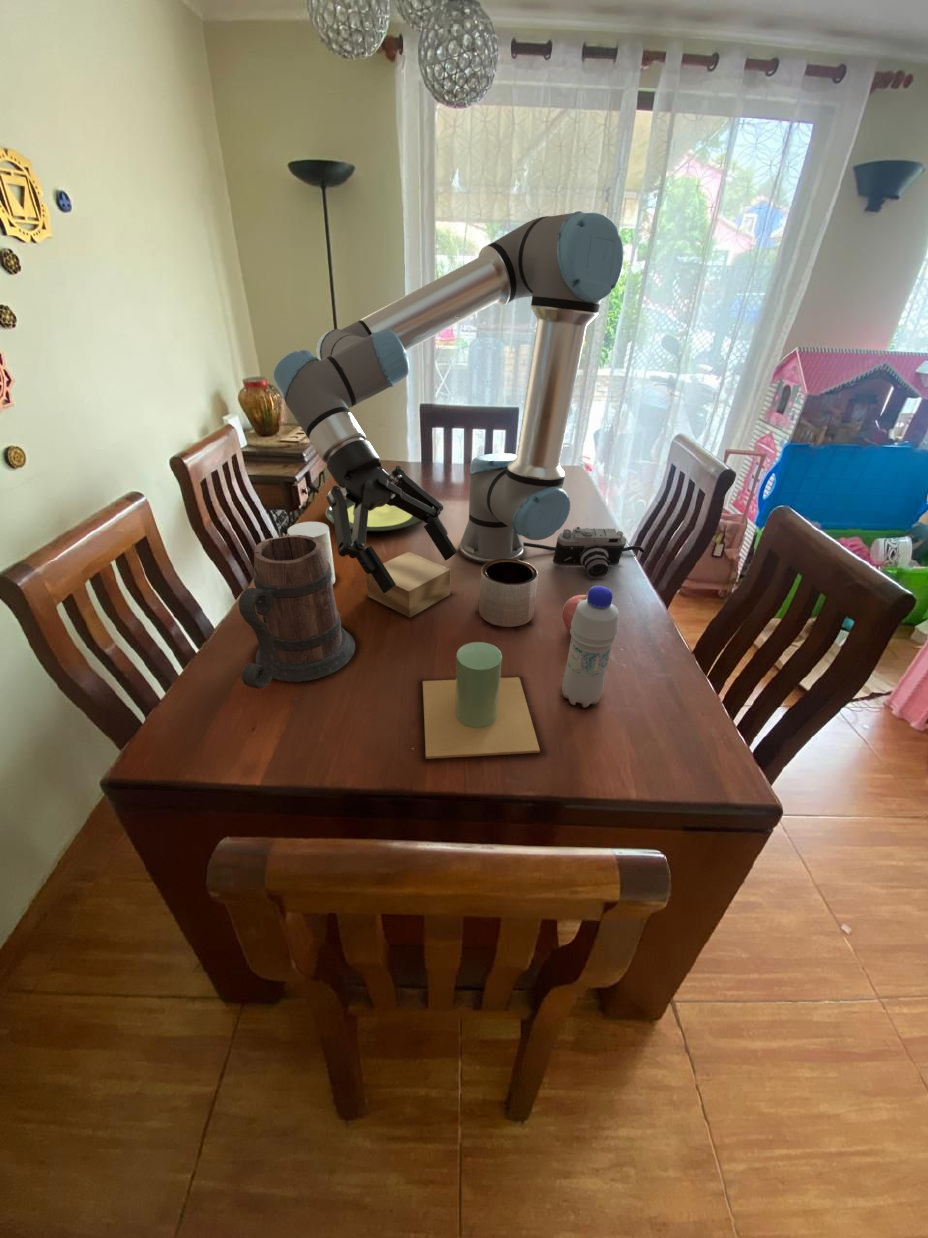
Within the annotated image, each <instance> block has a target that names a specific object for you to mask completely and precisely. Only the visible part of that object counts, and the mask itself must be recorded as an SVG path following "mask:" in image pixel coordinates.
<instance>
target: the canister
mask: <svg viewBox="0 0 928 1238" xmlns="http://www.w3.org/2000/svg"><path fill="white" fill-rule="evenodd" d="M502 665H503V654H502V651H501V650H500V649H499V648H498V647H497V646H495V645H494V644H491V643H489V642H483V641H473V642H467V643H465V644H463V645H462V646H461V647H459V648H458V650H457V652H456V665H455V680H456V701H455V714H456V717H457V719H458V720H459V721H460V722H461V723H462V724H464V725H465V726H468V727H472V728H483V727H486V726H489V725H491V724H492V723H493V722H494V721H495V720H496V718H497V713H498V701H499V689H500V678H502V677H501V676H502Z"/></svg>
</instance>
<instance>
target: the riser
mask: <svg viewBox="0 0 928 1238" xmlns="http://www.w3.org/2000/svg"><path fill="white" fill-rule="evenodd" d="M382 563H383V565H384V566H385V568H386V569H387V571H388V572H389V574H390V576H391V577H392V579H393V580H394V582H395V583H396V585H395V586H394V587H393V588H391V589H390V590H389V591H388V592H386V593H383V592H382V590H381V588H380V587H379V585H378V584H377V582H376V581H375V579H374V577H373V576H372V574H371V573H370V574H367V573H366V572H365V574H366V585H367V586H366V587H367V596H368V598H370V599H372V600H374V601H376V602H378V603H380V604H381V605H383V606H385V607H387V608H389V609H391V610H393V611H396V612H397V613H400V614H402V615H403V616H405V617H407V618H413V617H414V616H415V615H417V614H419V613H421V612H423V611H424V610H427V609H428V608H429V607H432V606H433V605H435V604H436V603H438V602H440V601H442V600H443V599H445V598H447V597H448V596H450V595H451V568H448V567H446V566H444V565H442V564H438V563H437V562H434V561H431V560H429V559H426V558H424V557H422V556H420V555H417V554H415V553H414V552H413V553H412V552H410V551H407V552H405V553H403V554H400V555H398V556H395V557H394V558H391V559H390V560H387V561H385V562H382Z"/></svg>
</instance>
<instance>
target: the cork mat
mask: <svg viewBox="0 0 928 1238" xmlns="http://www.w3.org/2000/svg"><path fill="white" fill-rule="evenodd" d="M520 678H521V677H519V676H518V677H517V676H516V677H515V676H514V677H512V676H511V677H501V678H500V689H499V701H498V713H497V718H496V720H495V721H494V722H493V723H492V724H491V725H489V726H486V727H483V728H472V727H468V726H465V725H464V724H462V723H461V722H460V721H459V720H458V719H457V717H456V714H455V701H456V679H441V680H440V679H439V680H422V697H423V698H422V699H423V719H424V720H423V721H424V722H423V724H424V745H425V748H424V749H425V759H426V760H429V759H430V760H431V759H446V758H465V757H485V756H502V755H518V754H519V755H521V754H522V755H523V754H539V753H540V752H541V750H540V749H541V748H540V746H539V742H538V739H537V735H536V730H535V728H534V724H533V720H532V716H531V713H530V710H529V707H528V703H527V700H526V695H525V692H524V689H523V686H522V682H521V679H520Z"/></svg>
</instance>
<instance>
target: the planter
mask: <svg viewBox="0 0 928 1238" xmlns="http://www.w3.org/2000/svg"><path fill="white" fill-rule="evenodd" d="M538 572H539V571H538V570H537V568H536V567H535V566H533V565H532V564H530V563H529V562H526V561H525V560H524V561H523V560H520V559H519V560H515V559H497V560H493V561H490V562H488V563H486V564H483V565H482V567H481V569H480V585H479V586H480V587H479V599H478V612H479V615H480V617H481V618H482V619H483V620H484V621H485V622H487V623H489V624H491V625H493V626H496V627H501V628H516V627H520V626H523V625H526V624H527V623H529V622H530V621H531V620H532V619H533V618H534V614H535V608H536V607H535V606H536V595H537V587H538V578H539V573H538Z"/></svg>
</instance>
